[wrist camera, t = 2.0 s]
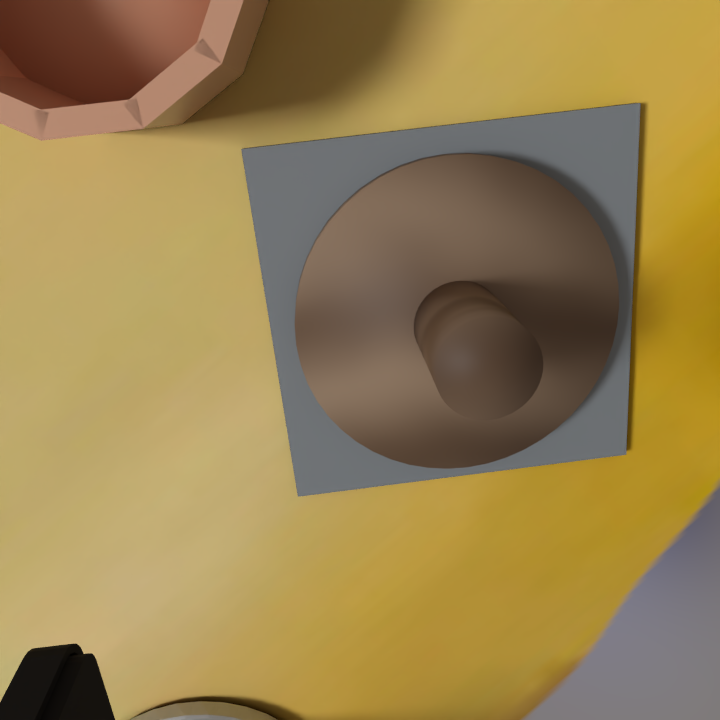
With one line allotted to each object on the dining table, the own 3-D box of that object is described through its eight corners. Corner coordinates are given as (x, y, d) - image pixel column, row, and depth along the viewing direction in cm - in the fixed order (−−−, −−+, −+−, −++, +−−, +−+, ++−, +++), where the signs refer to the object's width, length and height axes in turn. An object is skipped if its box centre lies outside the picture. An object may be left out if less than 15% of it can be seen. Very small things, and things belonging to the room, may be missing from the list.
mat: (622, 450, 31) (626, 454, 30) (298, 491, 30) (298, 496, 30) (635, 102, 25) (640, 103, 25) (242, 148, 25) (241, 149, 25)
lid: (606, 437, 30) (672, 512, 24) (317, 475, 30) (318, 559, 24) (612, 133, 25) (696, 140, 20) (271, 174, 25) (259, 193, 20)
